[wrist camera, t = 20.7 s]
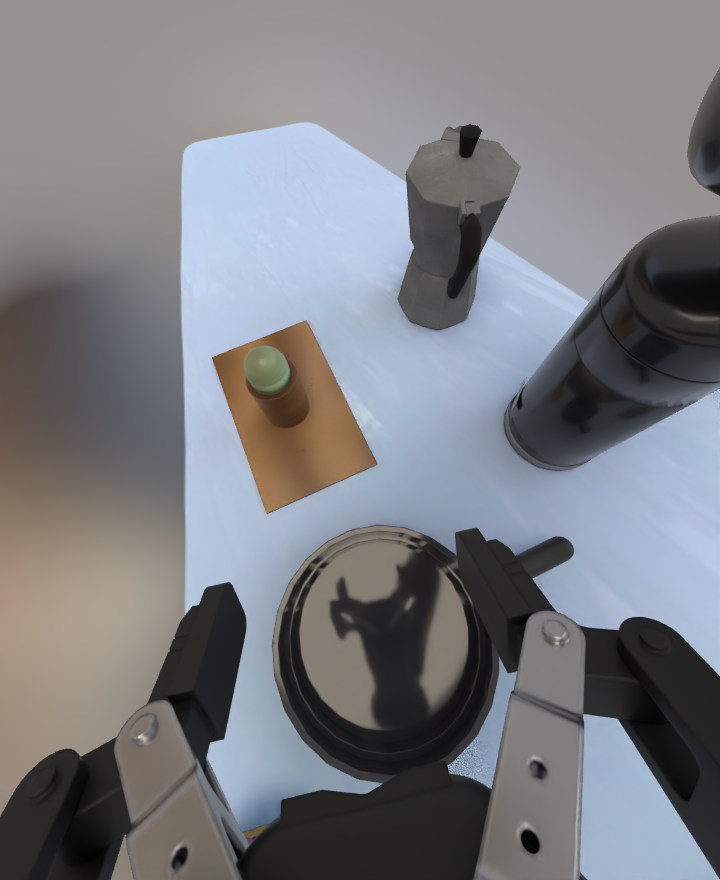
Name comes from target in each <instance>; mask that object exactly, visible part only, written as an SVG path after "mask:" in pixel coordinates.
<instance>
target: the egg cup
mask: <svg viewBox="0 0 720 880" xmlns="http://www.w3.org/2000/svg"><path fill="white" fill-rule="evenodd" d="M244 373H245V375H246V386H247V389H248V391H249V392H250V394H251V395H252V396H253V398H254V399H255V401H256V402H257V404H258V405H259V406H260V408H261V409H262V411H263V412H264V414H265V415H266V416H267V418H268V419H269V421H270V422H271V423H272V424H274V425H276V426H278V427H282V428H290V427H294V426H296V425H298V424H300V423H301V422H302V421H303V420H304V419H305V418H306V416H307V414H308V412H309V401H308V398H307V396H306V393H305V390H304V388H303V385H302V383H301V380H300V378H299V375H298V373H297V370H296V368H295V366H294V364H293V363H292V362H291V361H290V360H288V359H287V358H285V357H284V355H283V354H282V353H281V352H280V351H279V350H277V349H276V348H274V347H271V346H259V347H256V348H254V349H252V350H251V351H250V352H249V353H248V354H247V356H246V358H245V360H244Z"/></svg>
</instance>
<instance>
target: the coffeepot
mask: <svg viewBox="0 0 720 880" xmlns="http://www.w3.org/2000/svg"><path fill="white" fill-rule="evenodd" d="M481 132H482V130H481V129H480V128H479V127H478V126H476V125H471V124H469V125H466V126H459V127H457V128H456V129H453V128H452V127H447V128H446V129H445V131H444V133H443V136H442V138H441V140H438V141H435V142H432V143H429V144H426V145H422V146H420V148H419V150H418V151H417V153H416V155H415V157H414V159H413V160H412V162H411V164H410V166H409V168H408V170H407V171H406V182H407V197H408V211H409V225H410V239H411V241H412V243H413V245H414V249H413V251H412V254H411V257H410V259H409V263H408V266H407V270H406V273H405V276H404V280H403V283H402V286H401V290H400V293H399V296H398V301H399V303H400V305H401V307H402V309H403V311H404V313H405V314H406V315H407V317H408V318H409V320H410V321H412V322H414V323H416V324H418V325H421V326H423V327H427V328H435V329H443V328H447V327H450V326H453V325H455V324H457V323H459V322H460V321H463V320H465V319H466V318H467V316H468V313H469V310H470V308H471V305H472V303H473V300H474V297H475V290H476V282H477V273H478V265H479V255H480V253H481V251H482V249H483V247H484V245H485V243H486V241H487V239H488V237H489V235H490V233H491V231H492V229H493V227H494V225H495V223H496V221H497V219H498V217H499V215H500V213H501V211H502V209H503V207H504V205H505V203H506V201H507V199H508V198H509V196H510V193H511V190H512V188H513V185H514V183H515V180H516V177H517V175H518V172H519V170H520V166H519V165H518V164H517V163H516V162H515V161H514V160H513V158H512V157H511V156H510V155H509V154H508V153H507V152H506V151H505V150H504V148H503V147H502V146H501V145H500V144H499V143H498V142H494V141H489V140H484V139H479V137H480V134H481Z"/></svg>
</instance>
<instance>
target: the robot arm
mask: <svg viewBox="0 0 720 880" xmlns="http://www.w3.org/2000/svg"><path fill="white" fill-rule="evenodd" d="M687 158H688V162H689V167H690V172H691V174H692V175H693V177H694V178H695V179H696V180H697V182H698V183H699V184H700V185H702V186H703V187H704V188H706V189H708V190H709V191H711V192H713V193H715V194H717V195H719V196H720V68H719V70H718V71H717V73H716V75H715V77H714V78H713V80H712V82H711V84H710V86H709V88H708V90H707V91H706V94H705V96H704V98H703V100H702V102H701V104H700V107H699V109H698V111H697V114H696V117H695V120H694V123H693V126H692V128H691V132H690V137H689V144H688V152H687ZM526 378H527V377H526ZM526 378H525V380H526ZM525 380H524V381H523V383H522V385H521V387H520V390H519V392H518V394H517V395H516V396H515V397H514V398H513V400H512V401H511V402H510V404H509V406H508V408H507V410H506V413H505V419H504V425H505V431H506V434H507V437H508V439H509V441H510V443H511V445H512V446H513V448H514V449H515V450H516V451H517V452H518V453H519V454H520V455H521V456H522V457H523V458H524V459H526V460H527V461H529V462H530V463H532V464H534V465H536V466H539V467H541V468H545V469H549V470H556V471H562V470H570V469H573V468H576V467H579V466H581V465H582V464H584V463H586V462H588V461H589V460H591V459H592V458H593V457H595V456H597V455H599V454H601V453H603V452H604V451H606V450H608V449H610V448H612V447H614V446H615V445H617V444H619V443H621V442H623V441H625V440H627V439H628V438H630V437H632V436H634V435H636V434H638V433H639V432H641V431H643V430H645V429H647V428H649V427H650V426H652V425H654V424H656V423H658V422H660V421H661V420H663V419H665V418H667V417H669V416H671V415H672V414H674V413H676V412H678V411H680V410H682V409H684V408H685V407H687V406H689V405H691V404H693V403H695V402H696V401H698V400H700V399H701V398H703V397H705V396H707V395H709V394H711V393H712V392H714V391H716V390H718V389H720V215H719V216H709V217H701V218H695V219H688V220H684V221H680V222H676V223H673V224H670V225H668V226H665V227H663V228H660V229H658V230H656V231H654V232H653V233H651V234H649V235H648V236H646V237H645V238H643V239H642V240H641V241H640V242H639V243H637V244H636V245H635V246H634V247H633V248H632V249H631V250H630V251H629V253H628V254H627V255H626V256H625V257H624V258H623V260H622V261H621V262H620V263H619V265H618V266H617V267H616V269H615V270H614V271H613V272H612V274H611V275H610V277H609V278H608V279H607V280H606V281H605V283H604V284H603V285H602V287H601V288H600V290H599V291H598V292H597V293H596V294H595V296H594V297H593V298H592V299H591V301H590V302H589V303H588V305H587V306H586V307H585V309H584V310H583V311H582V313H581V314H580V315H579V317H578V318H577V319H576V320H575V322H574V323H573V324H572V326H571V327H570V328H569V329H568V331H567V332H566V333H565V335H564V336H563V337H562V338H561V340H560V341H559V342H558V344H557V345H556V346H555V347H554V349H553V350H552V351H551V353H550V354H549V355H548V356H547V358H546V359H545V360H544V362H543V363H542V364H541V365H540V367H539V368H538V369H537V371H536V372H535V373H534V374H533V376H532V377H531V378H530V380H529V381H528V382H527V383H526V385H525V386H524V387H523V385H524V383H525ZM522 387H523V388H522ZM455 539H456V551H457V562H458V569H459V573H460V576H461V579H462V581H463V584H464V586H465V588H466V590H467V592H468V594H469V596H470V598H471V600H472V602H473V604H474V606H475V608H476V610H477V612H478V614H479V616H480V618H481V620H482V622H483V624H484V626H485V628H486V630H487V632H488V634H489V636H490V638H491V640H492V642H493V644H494V646H495V648H496V650H497V652H498V654H499V656H500V658H501V660H502V662H503V665H504V667H505V669H506V671H507V673H512V672H516V671H517V676H516V681H515V686H514V690H513V691H512V692H511V694H510V698H509V702H508V707H507V713H506V718H505V723H504V728H503V733H502V738H501V743H500V749H499V754H498V759H497V764H496V769H495V774H494V779H493V785H492V789H490V788H488V787H487V786H485V785H483V784H482V783H480V782H478V781H476V780H473V779H471V778H468V777H465V776H461V775H456V774H449V771H448V767H447V763H446V760H443V761H439V762H435V763H431V764H427V765H423V766H418V767H414V768H410V769H406V770H404V771H403V772H401V773H399V774H398V775H396V776H395V777H393V778H391V779H390V780H388V781H387V782H385V783H383V784H382V785H380V786H379V787H377V788H375V789H374V790H372V791H371V792H369V793H366V794H355V793H346V792H337V791H328V790H320V791H316V792H311V793H307V794H303V795H299V796H295V797H291V798H287V799H283V800H281V814H280V817H279V818H277V819H275V820H274V821H273V822H272V823H270V824H269V825H268V826H267V827H266V828H265V829H264V830H263V831H262V832H261V833H260V834H259V835H258V836H257V837H256V838H255V839H254V840H253V841H252V843H251V844H250V845H249V843H248V841H247V839H246V837H245V836H244V834H243V832H242V830H241V829H240V827H239V825H238V823H237V821H236V819H235V817H234V815H233V813H232V811H231V808H230V806H229V804H228V802H227V800H226V798H225V795H224V793H223V791H222V789H221V787H220V785H219V782H218V780H217V778H216V776H215V774H214V772H213V769H212V767H211V765H210V763H209V761H208V759H207V758H206V757H207V753H208V749H209V744H210V742H214V741H218V740H223V739H224V738H225V733H226V728H227V723H228V718H229V713H230V708H231V703H232V698H233V693H234V688H235V683H236V678H237V673H238V668H239V663H240V659H241V654H242V649H243V644H244V639H245V634H246V616H245V613H244V610H243V608H242V606H241V603H240V601H239V599H238V597H237V595H236V592H235V590H234V588H233V586H232V584H231V583H230V582H227V583H223V584H218V585H214V586H209V587H207V588H206V589H205V590H204V593H203V596H202V598H201V601H200V604H199V605H197V606H192V607H191V609H190V610H189V611H188V612H187V614H186V615H185V616H184V618H183V619H182V620H181V622H180V624H179V627H178V629H177V632H176V634H175V639H173V642H172V644H171V647H170V652H168V654H167V656H166V659H165V662H164V664H163V666H162V669H161V671H160V674H159V676H158V679H157V681H156V684H155V686H154V689H153V691H152V694H151V696H150V699H149V701H148V703H147V704H146V705H144V706H143V707H141V708H140V709H139V710H137V711H136V712H135V713H134V714H133V715H132V716H131V717H130V718H129V719H128V720H127V721H126V723H125V724H124V726H123V727H122V728H121V730H120V732H119V734H118V736H117V737H116V738H114V739H112V740H111V741H109V742H107V743H105V744H103V745H101V746H100V747H98V748H96V749H95V750H92V751H91V752H89V753H87V754H85V755H83V756H82V757H80V756H79V754H78V753H77V752H76V751H74V750H72V749H63V750H59V751H57V752H55V753H53V754H51V755H49V756H48V757H46V758H45V759H43V760H42V761H41V762H39V763H38V764H37V765H36V766H35V767H34V768H33V769H32V770H31V771H30V772H29V773H28V774H27V775H26V776H25V777H24V779H23V780H22V781H21V782H20V784H19V785H18V787H17V788H16V790H15V791H14V793H13V795H12V796H11V798H10V800H9V802H8V804H7V806H6V807H5V809H4V811H3V813H2V815H1V817H0V880H111V876H112V873H113V870H114V867H115V863H116V860H117V857H118V854H119V851H120V847H121V844H122V841H123V837H124V835H126V845H127V851H128V855H129V860H130V865H131V869H132V873H133V878H134V880H587V879H586V878H585V877H584V876H583V875H582V874H581V873H580V844H581V813H582V783H583V752H584V720H583V714H588V715H595V716H603V717H610V718H617V719H618V720H619V721H620V723H621V725H622V726H623V728H624V729H625V731H626V732H627V734H628V736H629V737H630V739H631V740H632V742H633V743H634V745H635V747H636V748H637V750H638V751H639V753H640V754H641V756H642V758H643V759H644V761H645V762H646V764H647V765H648V767H649V769H650V770H651V772H652V773H653V775H654V776H655V778H656V780H657V781H658V783H659V784H660V786H661V788H662V789H663V791H664V792H665V794H666V795H667V797H668V799H669V800H670V802H671V803H672V805H673V806H674V808H675V810H676V811H677V813H678V814H679V816H680V817H681V819H682V821H683V822H684V824H685V825H686V827H687V828H688V830H689V832H690V833H691V835H692V836H693V838H694V839H695V841H696V843H697V844H698V846H699V847H700V849H701V850H702V852H703V854H704V855H705V857H706V858H707V860H708V861H709V863H710V865H711V866H712V868H713V869H714V871H715V872H716V874H717V876H718V877H719V879H720V676H719V675H718V674H717V673H716V672H715V671H714V670H713V669H712V668H711V667H710V665H709V664H708V663H707V662H706V661H705V660H704V659H703V658H702V657H701V656H700V655H699V654H698V653H697V652H696V651H695V650H694V649H693V648H692V647H691V646H690V645H689V644H688V643H687V642H686V641H685V640H684V638H683V637H682V636H681V635H679V634H678V633H677V632H676V631H675V630H673V629H672V628H670V627H669V626H667V625H665V624H663V623H661V622H659V621H656V620H653V619H650V618H645V617H632V618H628V619H626V620H625V621H623V622H622V624H621V625H620V628H619V630H609V629H597V628H588V627H583V626H580V625H577V624H576V623H575V622H574V621H573V620H572V619H570V618H569V617H567V616H565V615H563V614H561V613H558V612H557V611H556V610H555V609H554V608H553V607H552V605H551V604H550V603H549V601H548V600H547V599H546V597H545V596H544V594H543V593H542V592H541V590H540V589H539V588H538V586H537V585H536V584H535V582H534V581H533V580H532V578H531V577H530V575H529V574H528V573H527V572H526V571H525V569H524V567H523V566H522V565H521V563H520V562H518V559H517V558H516V556H515V555H514V554H513V552H512V551H511V550H510V548H509V547H507V546H506V545H504V544H503V543H501V542H500V541H498V540H497V539H494V540H489V541H486V540H485V538H484V537H483V535H482V534H481V532H480V531H479V529H478V528H472V529H468V530H463V531H459V532H456V533H455Z"/></svg>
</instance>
